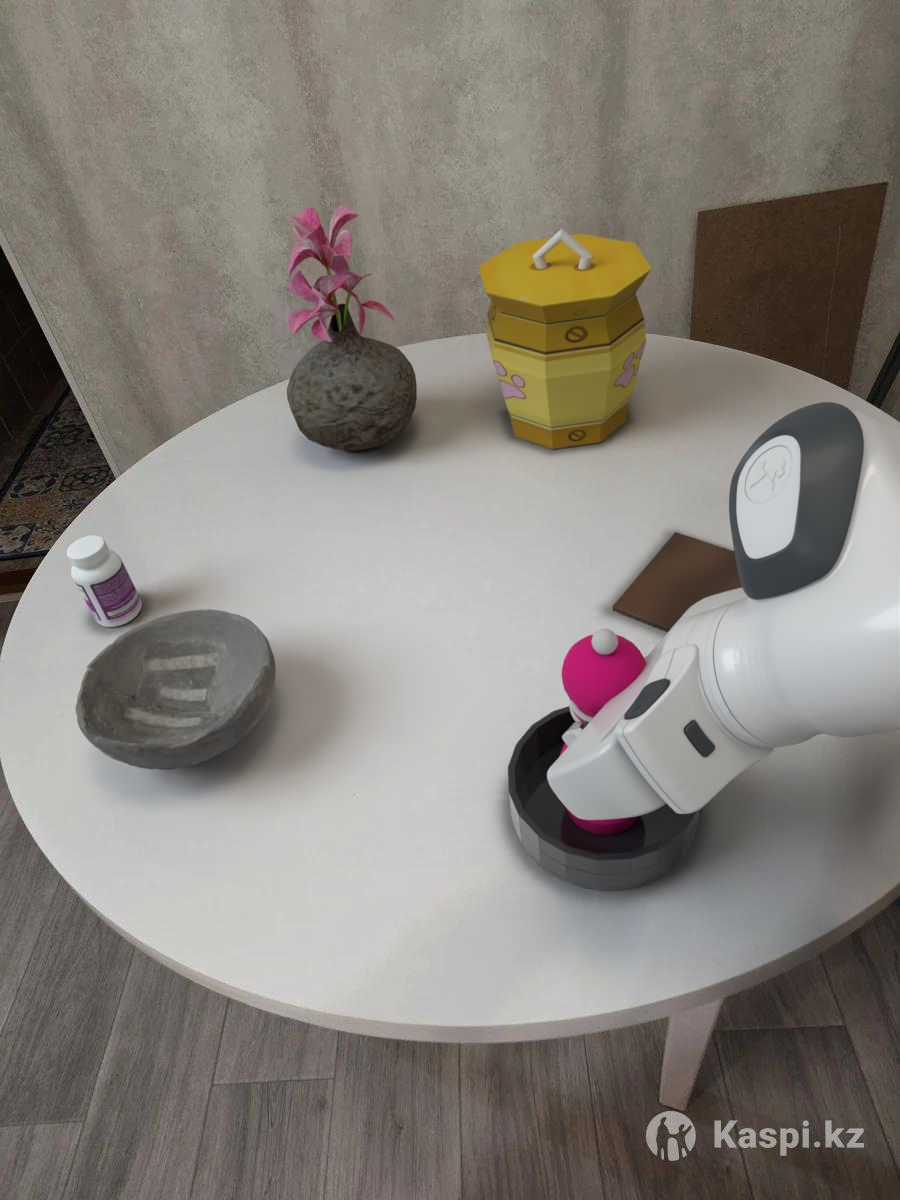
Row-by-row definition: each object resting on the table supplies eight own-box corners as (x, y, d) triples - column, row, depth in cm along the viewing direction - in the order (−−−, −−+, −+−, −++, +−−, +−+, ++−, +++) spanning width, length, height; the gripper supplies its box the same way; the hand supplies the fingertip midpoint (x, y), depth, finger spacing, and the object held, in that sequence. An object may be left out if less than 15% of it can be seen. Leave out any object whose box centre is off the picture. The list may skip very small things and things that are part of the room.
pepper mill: (638, 763, 74) (648, 591, 61) (655, 837, 69) (670, 666, 55) (554, 771, 75) (545, 601, 61) (564, 845, 69) (557, 677, 56)
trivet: (799, 577, 89) (800, 572, 89) (743, 662, 82) (743, 657, 81) (674, 535, 96) (675, 531, 96) (612, 610, 89) (612, 606, 89)
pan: (728, 783, 72) (734, 750, 69) (641, 927, 64) (643, 897, 61) (572, 709, 80) (571, 676, 77) (476, 829, 72) (470, 798, 69)
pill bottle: (149, 595, 99) (118, 529, 93) (134, 627, 95) (100, 561, 89) (105, 597, 100) (71, 531, 93) (88, 629, 96) (51, 563, 90)
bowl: (298, 650, 90) (280, 593, 84) (279, 792, 77) (256, 736, 71) (130, 668, 91) (101, 612, 85) (83, 811, 78) (45, 757, 72)
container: (511, 374, 128) (498, 197, 111) (656, 382, 121) (666, 196, 104) (469, 453, 113) (447, 264, 96) (631, 467, 107) (638, 267, 90)
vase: (285, 471, 115) (219, 244, 95) (328, 403, 127) (278, 189, 107) (405, 476, 111) (362, 240, 91) (438, 406, 123) (407, 184, 103)
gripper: (779, 546, 58) (644, 598, 69) (612, 747, 47) (486, 769, 59) (833, 619, 58) (691, 659, 70) (680, 835, 48) (542, 839, 59)
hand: (596, 711), depth 64 cm, fingers closed on pepper mill, 5 cm apart
